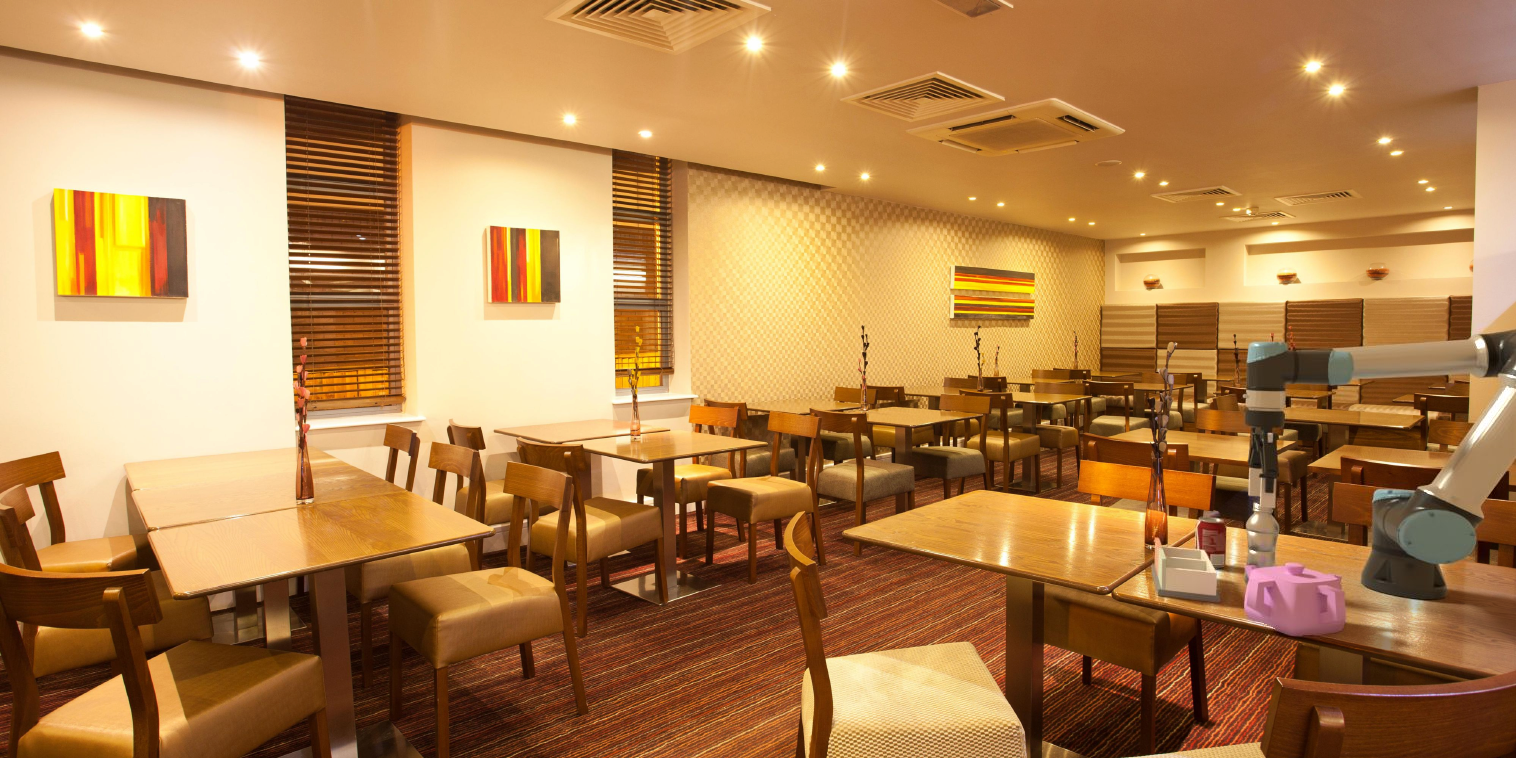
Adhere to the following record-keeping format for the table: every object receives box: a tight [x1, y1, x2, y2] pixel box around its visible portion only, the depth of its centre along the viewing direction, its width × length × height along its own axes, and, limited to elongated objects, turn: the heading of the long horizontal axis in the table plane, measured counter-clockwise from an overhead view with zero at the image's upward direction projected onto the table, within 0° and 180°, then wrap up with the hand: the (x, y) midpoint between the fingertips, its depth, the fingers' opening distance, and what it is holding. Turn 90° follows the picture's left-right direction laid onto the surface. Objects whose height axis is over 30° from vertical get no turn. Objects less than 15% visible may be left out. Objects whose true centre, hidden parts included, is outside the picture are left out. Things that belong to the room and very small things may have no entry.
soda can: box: [1194, 516, 1227, 570], centre depth 194 cm, size 7×7×12 cm
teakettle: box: [1243, 562, 1347, 637], centre depth 154 cm, size 17×17×12 cm
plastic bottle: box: [1243, 501, 1280, 586], centre depth 175 cm, size 6×7×20 cm
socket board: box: [1150, 537, 1221, 604], centre depth 178 cm, size 12×20×8 cm, turn 156°
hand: (1261, 501), depth 175 cm, fingers open, 13 cm apart
